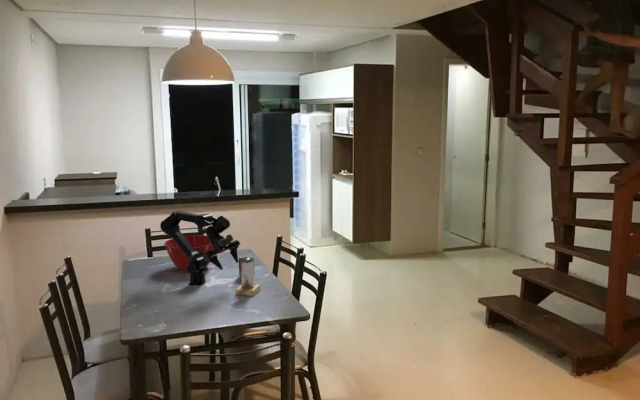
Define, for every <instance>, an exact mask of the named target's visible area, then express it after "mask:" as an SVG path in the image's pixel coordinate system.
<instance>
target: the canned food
mask: <svg viewBox="0 0 640 400" xmlns="http://www.w3.org/2000/svg"><path fill="white" fill-rule="evenodd" d="M242 257H253V258H254V260H253V265H254V266H255V257H254V254H240V255H239V256H238V276H239V278H240V279H241V261H240V258H242Z"/></svg>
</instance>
